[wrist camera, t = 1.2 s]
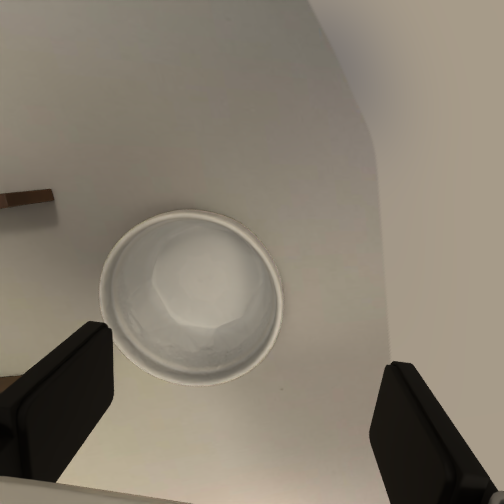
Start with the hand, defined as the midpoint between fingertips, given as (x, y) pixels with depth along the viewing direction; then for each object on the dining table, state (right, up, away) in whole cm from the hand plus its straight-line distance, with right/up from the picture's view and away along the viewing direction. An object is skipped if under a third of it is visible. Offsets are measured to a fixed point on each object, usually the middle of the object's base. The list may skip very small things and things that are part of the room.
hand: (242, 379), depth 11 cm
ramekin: (-4, +2, +18) cm, 19 cm away
